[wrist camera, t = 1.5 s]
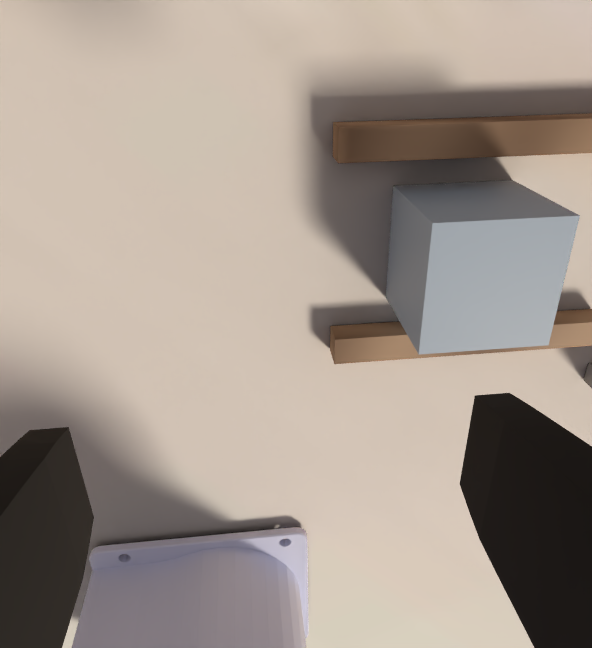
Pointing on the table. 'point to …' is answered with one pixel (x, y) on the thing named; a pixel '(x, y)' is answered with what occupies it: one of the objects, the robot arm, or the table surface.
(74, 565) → the robot arm
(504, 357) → the table surface
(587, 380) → the grey flat u-shaped frame
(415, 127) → the slot holder
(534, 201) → the block
